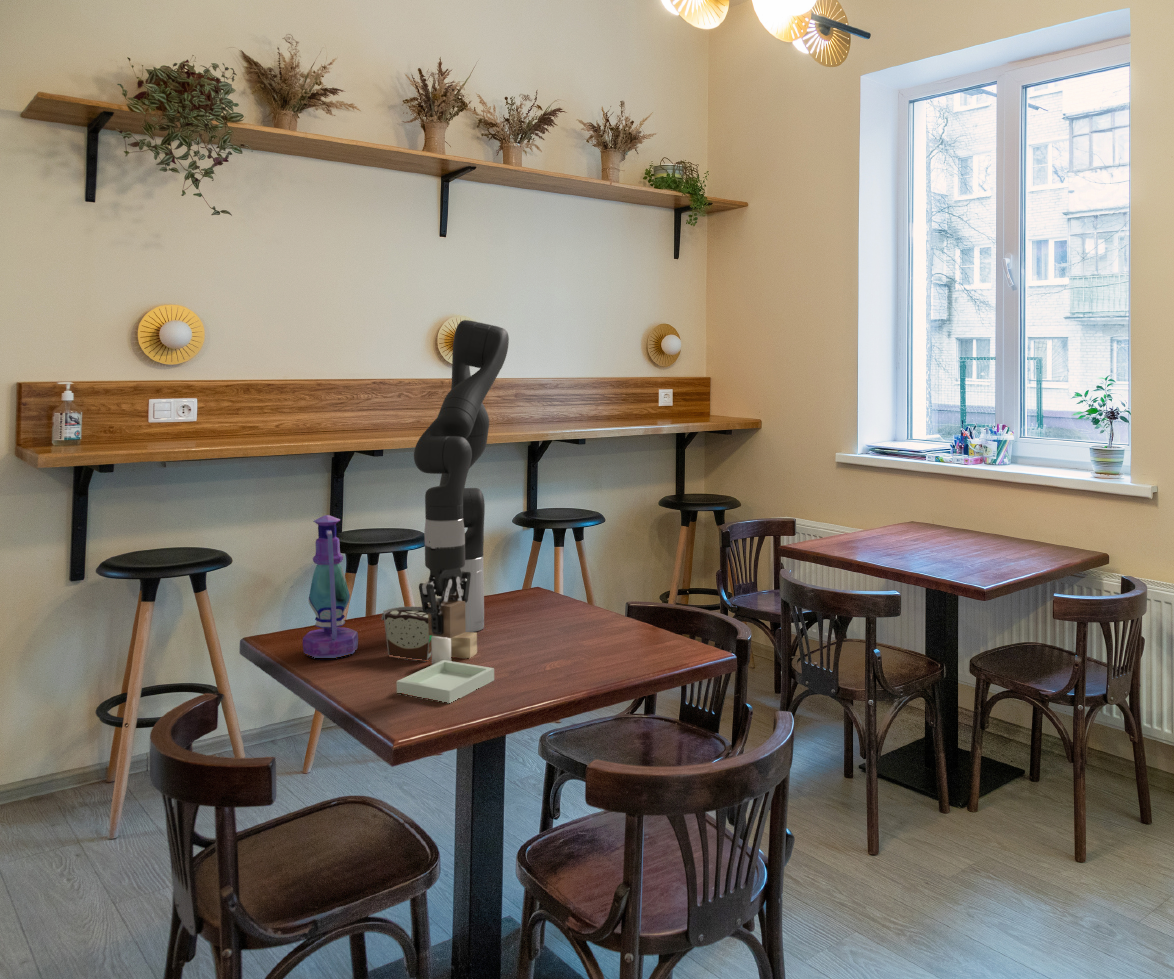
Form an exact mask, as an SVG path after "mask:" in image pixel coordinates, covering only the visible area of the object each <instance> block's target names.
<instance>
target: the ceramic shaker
mask: <svg viewBox="0 0 1174 979" xmlns="http://www.w3.org/2000/svg"><path fill="white" fill-rule="evenodd" d="M431 646H432V651H431V665H434V664H436V663H438V662H440V661H443V660H446V661H452V658H451V638H445V637H438V636H432V637H431Z"/></svg>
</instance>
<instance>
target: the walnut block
mask: <svg viewBox="0 0 1174 979" xmlns="http://www.w3.org/2000/svg"><path fill="white" fill-rule="evenodd" d="M436 604H437V608H438V606H439V602H437V603H436ZM428 607H430V603H428ZM442 615H443V621H444V633H443V634H441V635H437V634H433V633H432V626H431V614H429V613H428V631H429V635H431V636H438V637H445V638H452V637H455V636H457V635H460V634H462V633H464V632H466V626H465V601H456V600H451V599H450V600H448V601H447V603H445V605H444V611H443V614H442Z"/></svg>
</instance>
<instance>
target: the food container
mask: <svg viewBox="0 0 1174 979" xmlns="http://www.w3.org/2000/svg"><path fill="white" fill-rule="evenodd" d="M380 620H381V621H384V623H383V624H384V630H385V640H386V646H387V654H388V655H393V656H400V657H406V658H412V659H422V660H429V659H430V658H431V659H432V646H431V637H432V636H431V635H429V631H428V613H424V612H423V608H422V606H398V607H392V608H388V609H384V610H383V612H382V614H381V619H380ZM431 659H430V660H431ZM430 660H429V661H430Z"/></svg>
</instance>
